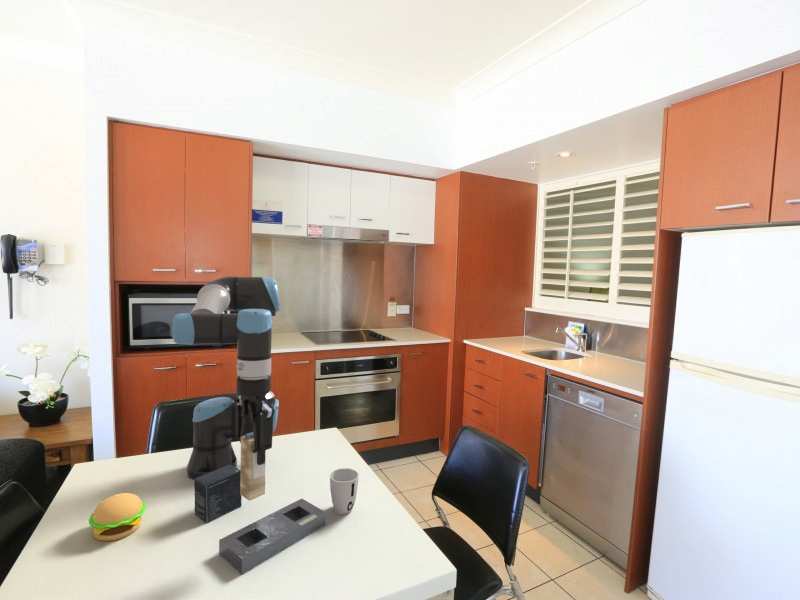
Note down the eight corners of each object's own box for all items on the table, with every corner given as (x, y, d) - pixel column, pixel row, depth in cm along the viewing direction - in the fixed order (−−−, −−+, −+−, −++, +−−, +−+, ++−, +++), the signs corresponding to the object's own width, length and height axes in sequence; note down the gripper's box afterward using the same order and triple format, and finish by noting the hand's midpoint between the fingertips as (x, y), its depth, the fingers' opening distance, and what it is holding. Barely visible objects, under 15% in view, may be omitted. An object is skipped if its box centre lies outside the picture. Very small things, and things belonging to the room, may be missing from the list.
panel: (219, 554, 96) (219, 539, 96) (301, 510, 115) (301, 497, 115) (241, 574, 90) (242, 558, 90) (325, 524, 109) (325, 511, 109)
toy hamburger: (85, 551, 96) (85, 516, 95) (91, 524, 106) (91, 492, 105) (146, 535, 102) (146, 502, 102) (145, 511, 112) (145, 481, 112)
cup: (352, 519, 112) (353, 483, 111) (324, 514, 113) (325, 479, 113) (361, 503, 120) (362, 470, 119) (335, 499, 121) (335, 466, 121)
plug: (240, 494, 96) (240, 433, 95) (255, 487, 100) (256, 428, 99) (249, 500, 94) (250, 438, 93) (264, 493, 97) (265, 433, 96)
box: (229, 498, 120) (229, 463, 119) (242, 506, 116) (242, 470, 115) (193, 515, 111) (193, 478, 111) (206, 524, 108) (206, 485, 107)
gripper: (219, 371, 97) (219, 466, 99) (260, 386, 87) (259, 492, 88) (248, 366, 103) (247, 456, 105) (290, 379, 92) (288, 479, 94)
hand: (252, 472), depth 96 cm, fingers closed on plug, 4 cm apart
